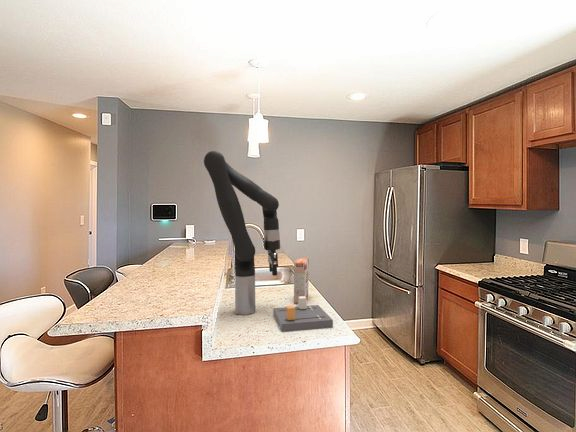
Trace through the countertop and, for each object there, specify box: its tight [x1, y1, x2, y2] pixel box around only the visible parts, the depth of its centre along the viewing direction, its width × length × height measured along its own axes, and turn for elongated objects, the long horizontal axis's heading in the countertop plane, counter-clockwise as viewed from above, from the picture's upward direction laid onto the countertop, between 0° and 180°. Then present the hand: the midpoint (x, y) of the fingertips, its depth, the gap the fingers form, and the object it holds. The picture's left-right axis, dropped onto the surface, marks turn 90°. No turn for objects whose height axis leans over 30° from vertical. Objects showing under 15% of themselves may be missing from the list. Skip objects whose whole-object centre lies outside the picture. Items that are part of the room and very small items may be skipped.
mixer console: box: [272, 304, 334, 333], centre depth 137 cm, size 21×20×3 cm
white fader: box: [297, 296, 308, 309], centre depth 143 cm, size 3×3×5 cm
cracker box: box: [293, 257, 310, 304], centre depth 167 cm, size 14×6×21 cm, turn 168°
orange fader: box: [285, 305, 296, 320], centre depth 130 cm, size 3×3×5 cm
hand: (273, 273), depth 151 cm, fingers open, 8 cm apart
